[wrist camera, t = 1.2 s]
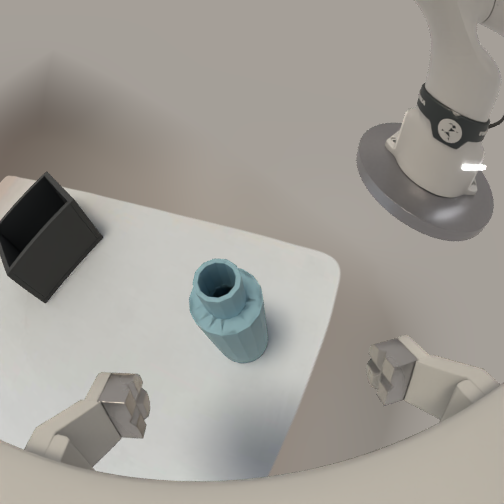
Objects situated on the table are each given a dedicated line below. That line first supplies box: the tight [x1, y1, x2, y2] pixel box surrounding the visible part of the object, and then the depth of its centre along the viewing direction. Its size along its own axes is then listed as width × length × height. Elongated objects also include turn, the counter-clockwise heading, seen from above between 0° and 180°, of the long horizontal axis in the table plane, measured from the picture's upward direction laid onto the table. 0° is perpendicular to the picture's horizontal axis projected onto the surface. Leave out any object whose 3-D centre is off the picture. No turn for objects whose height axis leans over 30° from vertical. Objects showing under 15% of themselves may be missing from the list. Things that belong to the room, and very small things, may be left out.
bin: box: [0, 172, 103, 303], centre depth 33 cm, size 14×14×9 cm
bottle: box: [189, 259, 268, 363], centre depth 22 cm, size 5×5×14 cm
